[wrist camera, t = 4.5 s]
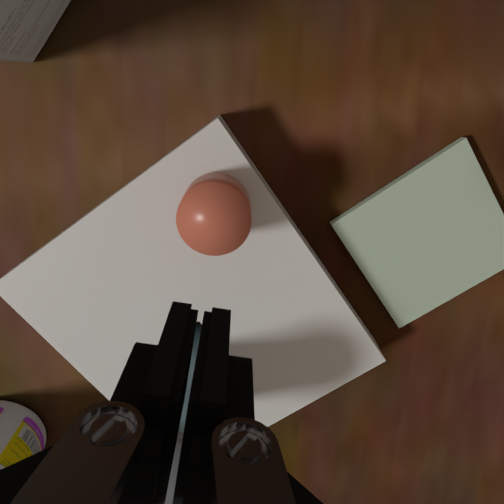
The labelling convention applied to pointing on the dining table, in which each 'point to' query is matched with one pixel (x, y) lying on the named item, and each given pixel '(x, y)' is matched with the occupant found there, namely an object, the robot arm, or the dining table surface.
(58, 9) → the supplement box
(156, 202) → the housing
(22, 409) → the supplement bottle
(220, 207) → the knob
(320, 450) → the dining table surface
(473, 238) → the mat
